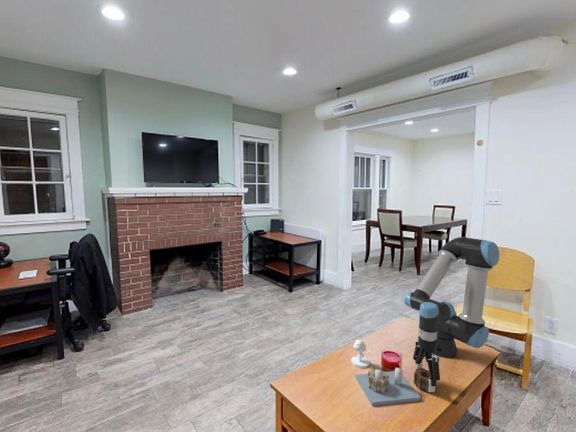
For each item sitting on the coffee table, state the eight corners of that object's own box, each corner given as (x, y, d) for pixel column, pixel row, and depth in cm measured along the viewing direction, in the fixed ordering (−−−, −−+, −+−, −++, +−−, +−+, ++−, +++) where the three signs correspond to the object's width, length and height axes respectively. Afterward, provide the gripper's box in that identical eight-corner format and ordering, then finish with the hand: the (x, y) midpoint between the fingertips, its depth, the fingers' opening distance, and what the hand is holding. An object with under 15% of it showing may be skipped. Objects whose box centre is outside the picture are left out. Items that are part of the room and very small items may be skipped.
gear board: (398, 373, 143) (399, 357, 142) (420, 400, 126) (421, 381, 125) (355, 377, 140) (356, 360, 139) (372, 405, 122) (373, 386, 121)
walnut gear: (427, 377, 140) (428, 367, 139) (440, 390, 131) (440, 379, 130) (410, 379, 138) (410, 369, 138) (421, 392, 130) (422, 381, 129)
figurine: (370, 369, 146) (371, 346, 145) (351, 366, 148) (352, 344, 147) (368, 358, 155) (369, 337, 154) (351, 356, 157) (352, 335, 156)
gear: (377, 377, 138) (377, 367, 137) (392, 388, 130) (393, 378, 130) (363, 383, 133) (363, 373, 133) (378, 396, 126) (379, 385, 125)
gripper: (406, 326, 142) (404, 369, 145) (435, 352, 121) (432, 402, 123) (420, 325, 143) (418, 368, 146) (452, 350, 122) (448, 400, 125)
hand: (424, 383), depth 135 cm, fingers closed on walnut gear, 9 cm apart
